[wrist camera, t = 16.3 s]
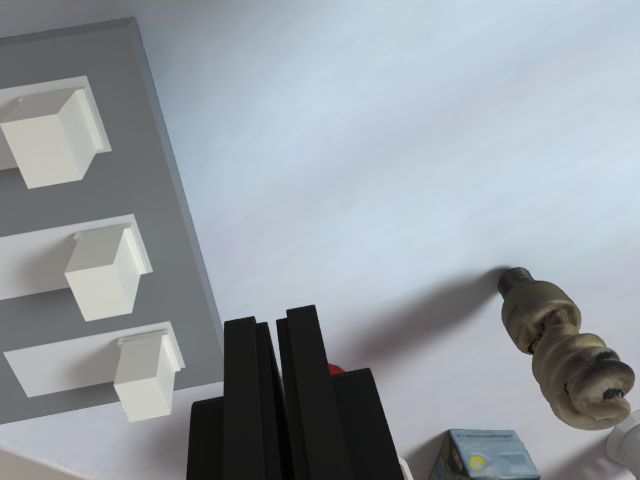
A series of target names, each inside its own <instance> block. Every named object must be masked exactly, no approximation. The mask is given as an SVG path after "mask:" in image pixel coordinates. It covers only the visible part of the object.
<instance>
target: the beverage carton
mask: <svg viewBox="0 0 640 480" xmlns="http://www.w3.org/2000/svg"><path fill="white" fill-rule="evenodd" d="M540 477H541V476H540V473H539V472H538V470H537V468H536V467H535V465H534V463H533V462H532V460H531V458H530V456H529V454H528V451H527V450H526V449H525V447H524V444H523V443H522V442H521V440H520V439H519V438H518V436H517V435H516V433H515V431H513V430H462V429H459V430H449V431H448V434H447V436H446V439H445V441H444V444H443V446H442V449H441V451H440V453H439V456H438V458H437V460H436V462H435V465H434V467H433V470H432V473H431V475H430V478H429V480H540Z"/></svg>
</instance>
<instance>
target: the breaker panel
mask: <svg viewBox="0 0 640 480" xmlns="http://www.w3.org/2000/svg"><path fill="white" fill-rule="evenodd" d="M82 86H86V89H87V92H88V95H89V97H90V100H91V103H92V106H93V109H94V112H95V115H96V118H97V121H98V124H99V126H100V129H101V132H102V135H103V138H104V141H105V144H106V146H105V148H104V149H101V150H97V152H96V154H95V156H94V157H93V159H92V161H91V163H90V165H89V167H88V169H87V171H86V173H85V175H84V177H83V179H82V180H77V181H71V182H65V183H60V184H54V185H48V186H42V187H36V188H31V189H28V187H27V185H26V183H25V180H24V178H23V176H22V174H21V171H20V169H19V167H18V164H17V162H16V160H15V158H14V155H13V153H12V151H11V149H10V146H9V144H8V142H7V139H6V137H5V135H4V133H3V130H2V128H1V126H0V425H1V424H6V423H11V422H16V421H21V420H26V419H31V418H37V417H42V416H47V415H52V414H57V413H62V412H67V411H72V410H78V409H83V408H88V407H93V406H98V405H103V404H108V403H113V402H119V401H120V399H119V396H118V394H117V392H116V390H115V387H114V381H115V377H116V372H117V368H118V364H119V360H120V355H121V351H120V348H119V346H118V341H119V338H125V337H130V336H135V335H140V334H146V333H151V332H156V331H162V330H167V329H169V332H170V335H171V338H172V341H173V344H174V346H175V349H176V352H177V355H178V358H179V361H180V364H181V370H180V371H177V372H175V378H174V387H173V391H175V390H180V389H185V388H190V387H195V386H201V385H206V384H211V383H216V382H221V381H224V332H223V328H222V325H221V321H220V318H219V314H218V311H217V307H216V303H215V300H214V296H213V293H212V289H211V286H210V282H209V279H208V275H207V271H206V268H205V264H204V261H203V257H202V254H201V250H200V246H199V243H198V239H197V236H196V232H195V229H194V225H193V222H192V218H191V214H190V211H189V207H188V204H187V200H186V197H185V193H184V189H183V186H182V182H181V179H180V175H179V172H178V168H177V164H176V161H175V157H174V154H173V150H172V147H171V143H170V140H169V136H168V132H167V129H166V125H165V122H164V118H163V115H162V111H161V107H160V104H159V100H158V97H157V93H156V90H155V86H154V83H153V79H152V75H151V72H150V68H149V65H148V61H147V58H146V54H145V50H144V47H143V43H142V40H141V36H140V33H139V29H138V26H137V22H136V18H135V17H132V18H126V19H120V20H113V21H107V22H101V23H94V24H88V25H82V26H75V27H69V28H63V29H57V30H50V31H44V32H38V33H31V34H25V35H19V36H12V37H6V38H0V123H1V122H2V121H3V120H4V119H5V118H6V117H7V116H8V115H9V114H10V113H11V112H12V111H13V110H14V109H15V108H16V107H17V106H18V105H19V101H18V99H19V98H20V97H21V96H27V95H33V94H40V93H46V92H52V91H58V90H64V89H70V88H76V87H82ZM129 223H132V225H133V228H134V231H135V233H136V236H137V239H138V242H139V245H140V248H141V251H142V254H143V257H144V260H145V262H146V265H147V268H148V269H147V273H146V274H141V275H140V279H139V284H138V288H137V293H136V297H135V301H134V306H133V310H132V313H129V314H123V315H118V316H113V317H107V318H102V319H97V320H91V321H85V319H84V317H83V315H82V312H81V310H80V308H79V306H78V303H77V301H76V299H75V296H74V294H73V292H72V290H71V287H70V285H69V283H68V281H67V278H66V276H65V274H64V273H65V270H66V268H67V266H68V263H69V261H70V259H71V256H72V254H73V252H74V250H75V247H76V245H77V244H76V242H75V239H74V236H75V234H76V233H79V232H84V231H90V230H96V229H101V228H107V227H112V226H118V225H124V224H129Z"/></svg>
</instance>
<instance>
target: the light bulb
mask: <svg viewBox="0 0 640 480" xmlns="http://www.w3.org/2000/svg"><path fill="white" fill-rule="evenodd" d="M498 290H499V292H500V293H501V295H502V297H503V299H504V303H503V306H502V315H501V316H502V321H503V324H504V326H505V328H506V330H507V332H508V334H509V336H510V337H511V339H512V340H513V342H514V344H515V345H516V346H517V348H518V349H519V350H520V351H522V352H523V353H526V354H529V355H533V358H532V372H533V375H534V377H535V379H536V381H537V382H538V383H539V384H540V389H541V391H542V394H543V396H544V397H545V399H546V400H547V401H548V402H549V403H550V406H551V408H552V411H553V412H554V414H555V415H556V416H557V417H558V418H559V419H560V420H562V421H563V422H564V423H566V424H568V425H570V426H572V427H574V428H578V429H583V430H603V429H607V428H610V427H613V426H615V425H617V424H619V423H621V422H623V421H624V420H625V419H626V418H627V417H628V416H629V414H630V411H631V408H630V404H629V403H628V402H627V401H626V399H624V398H623V397H624V396H625V395H626V394H627V393H628V392H629V391H630V390H631V389H632V387H633V385H634V381H635V374H634V372H633V370H632V369H631V368H630V366H628V365H627V364H625V363H623V362H620V358H619V356H618V355H617V353H616V352H615V351H614V350H612V349H610V348H606V345H605V342H604V341H603V340H602V339H601V338H600V337H599V336H597V335H594V334H590V333H584V334H580V333H579V329H580V326H581V313H580V311H579V309H578V307H577V306H576V305H575V304H574V302H573V301H572V300H571V299H570V298H569V297H568V296H567V295H566V294H565V293H564V292H563V290H561V289H560V288H559V287H558V286H556V285H554V284H552V283H550V282H546V281H535V280H534V279H533V278H532V276H531V275H530V273H529V271H528V270H526V269H525V268H521V267H517V268H512V269H511V270H510V271H509V272H508V273H507V274H506V275H505V276H503V277H501V279H500V280H499V283H498Z"/></svg>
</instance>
